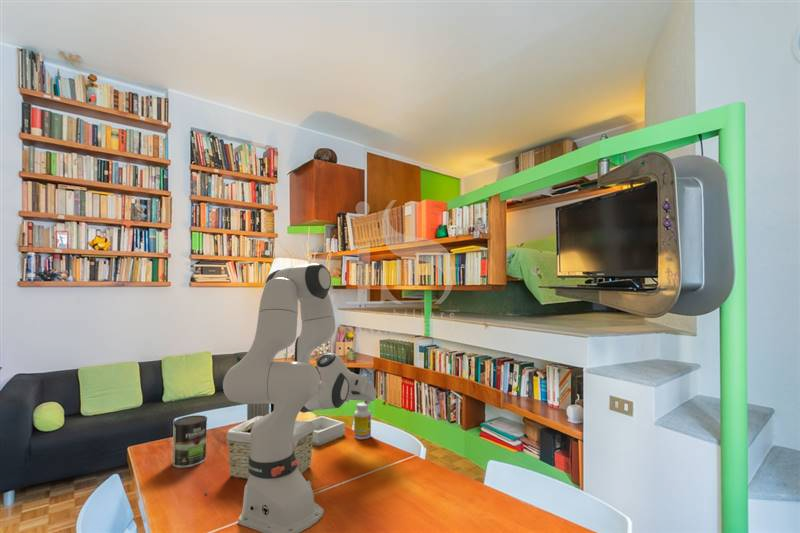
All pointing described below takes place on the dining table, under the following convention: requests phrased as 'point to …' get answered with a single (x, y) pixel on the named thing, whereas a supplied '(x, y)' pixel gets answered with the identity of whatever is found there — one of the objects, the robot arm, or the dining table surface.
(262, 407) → the milk frother
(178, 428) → the coffee can
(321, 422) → the box
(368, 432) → the supplement bottle
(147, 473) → the dining table surface
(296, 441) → the storage basket
